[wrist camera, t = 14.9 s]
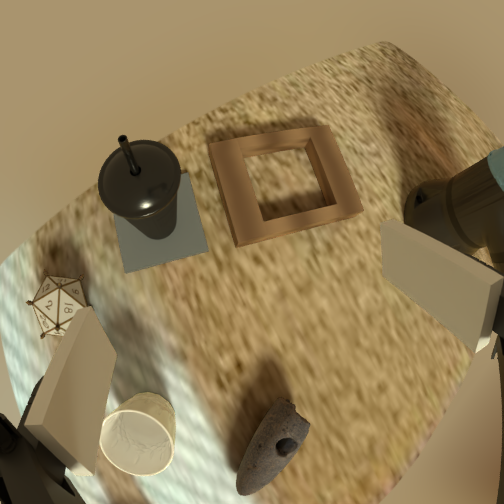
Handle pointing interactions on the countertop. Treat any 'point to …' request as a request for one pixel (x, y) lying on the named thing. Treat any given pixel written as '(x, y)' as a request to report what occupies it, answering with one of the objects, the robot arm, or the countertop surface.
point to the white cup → (140, 435)
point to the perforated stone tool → (271, 447)
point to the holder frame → (243, 197)
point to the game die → (58, 303)
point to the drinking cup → (142, 186)
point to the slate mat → (170, 248)
